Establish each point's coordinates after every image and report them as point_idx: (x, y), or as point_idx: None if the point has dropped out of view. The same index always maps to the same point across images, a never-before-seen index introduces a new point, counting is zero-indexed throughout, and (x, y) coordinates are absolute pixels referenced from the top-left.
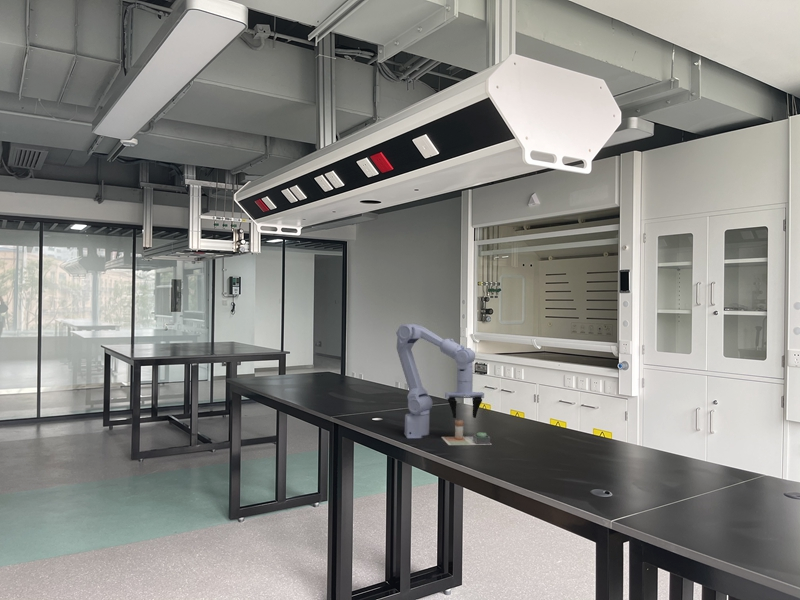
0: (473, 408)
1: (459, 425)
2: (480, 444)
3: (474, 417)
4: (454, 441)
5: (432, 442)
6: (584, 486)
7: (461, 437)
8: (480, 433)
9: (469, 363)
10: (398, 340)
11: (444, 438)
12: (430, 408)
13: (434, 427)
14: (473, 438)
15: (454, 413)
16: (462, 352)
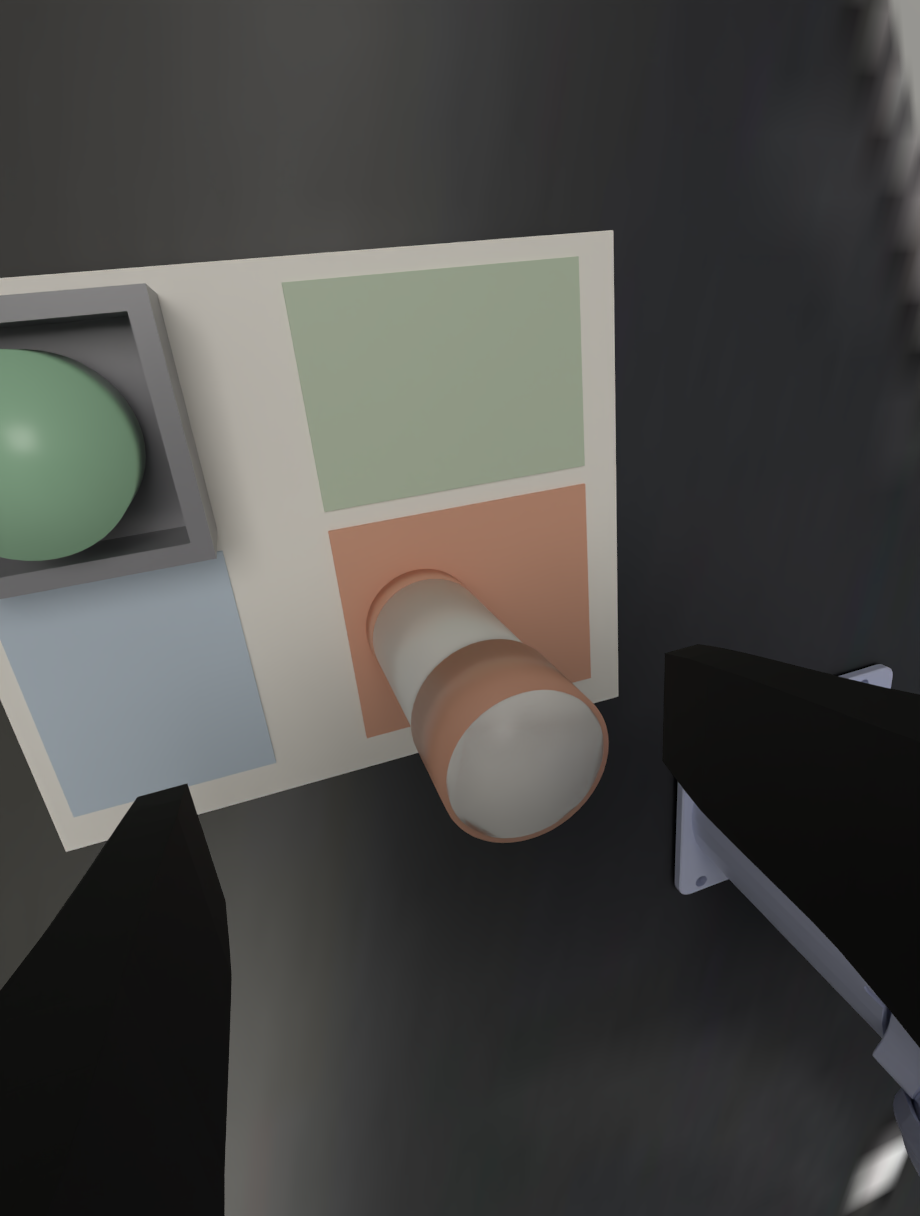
0: (204, 1141)
1: (501, 646)
2: (84, 282)
3: (178, 791)
4: (503, 455)
5: (703, 556)
6: None
7: (400, 591)
8: (51, 441)
9: None
10: None
11: (594, 624)
12: (915, 1118)
13: (563, 1129)
14: (211, 520)
15: (792, 668)
16: None
